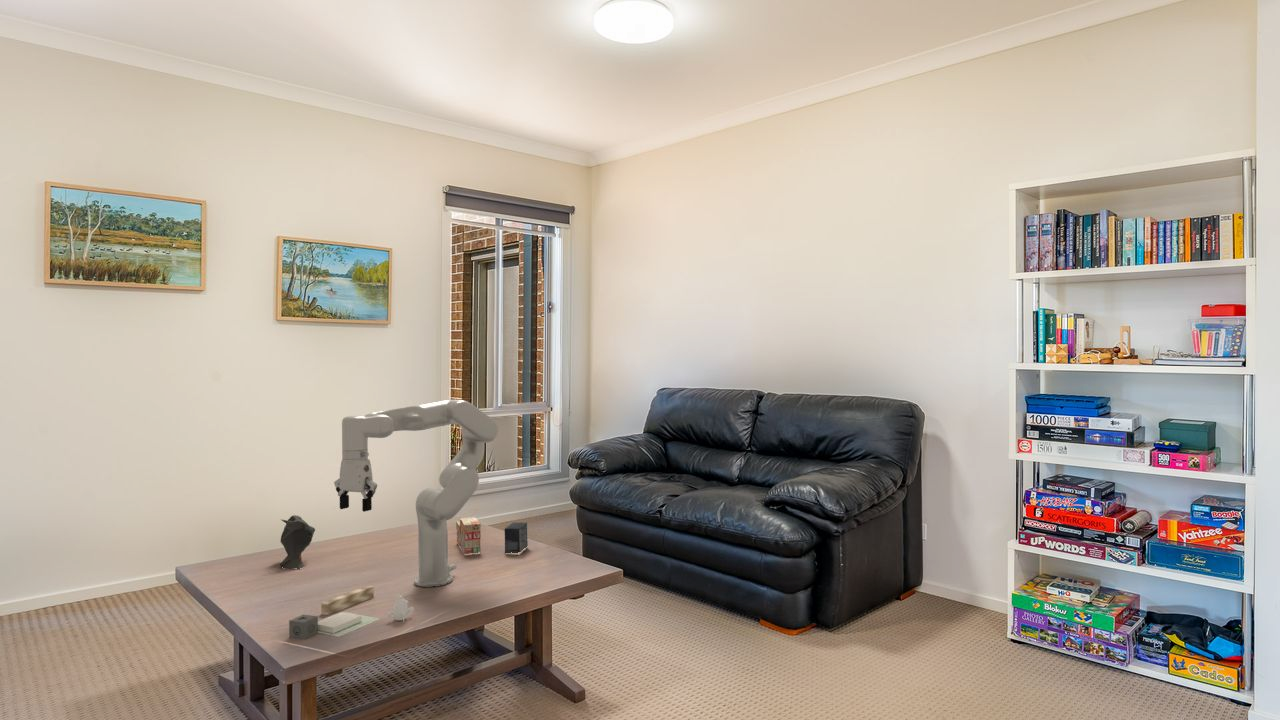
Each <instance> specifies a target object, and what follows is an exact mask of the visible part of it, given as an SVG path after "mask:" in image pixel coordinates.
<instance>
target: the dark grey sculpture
mask: <svg viewBox="0 0 1280 720" xmlns="http://www.w3.org/2000/svg"><path fill="white" fill-rule="evenodd" d="M280 520H281V521H282V522H283V523H285V525H284V528H283V531H282V533H281V537H280V544H281V545H282V546H283V547H284V550H285V552H286V554H287V555H286V557H285V558H284V559H283V560H282V561H281V563H279V568H282V567H283V568H297V569H296V570H300V568H303V567H305V568H306V566H305V565H304V564H303V563H302V561H303V560H302V553H303V552H304V551H305V550H306V548H307V547H309V546H310V545H311V542H312V541H313V537H314V533H315V532H316V529H315V527H313V526H311V525H309V523H307V522H306V521H305V520H304V519H303V518H302V517H301V516H300V515H295V514H294V515H291V516H290V517H289V518H288V519H287V520H286V519H280ZM303 569H304V568H303Z"/></svg>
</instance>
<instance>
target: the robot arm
mask: <svg viewBox="0 0 1280 720" xmlns="http://www.w3.org/2000/svg"><path fill="white" fill-rule="evenodd" d="M451 425H459V426H460V427H461V429H460V430H461V436H462V444H461V447H460V449H459V450H458V452H457V453H456V455H455V456H454V457H453V458H452V459H451V460H450V462H449V463H448V464H447V465H446V466H445V467H444V469H443V470H442V471H441V473H440V474H439V477H438V482H439V485H440V486H441V487H442V488H443V489H439V488H437V487H436V488H434V487H430V488H425V489H423V490H422V491H421V492H419V494H418V495H417V497H416V500H415V511H416V512H415V513H416V517H417V527H418V528H417V529H418V530H417V531H418V534H417V535H418V536H417V537H418V576H417V577H415V578H414V580H413V583H414V585H415V586H417V587H421V588H422V587H424V588H432V587H433V586H435V587H440V585H441V586H444V584H445V585H448V584H450V583H451V582H453V575H452V574H451V572H452V571H454V570H456V569H457V565H456V564H455V563H453V564H448V563H449V561H448V560H449V557H448V556H449V554H448V550H449V548H448V545H449V544H448V543H449V542H448V535H449V534H448V522H447V521H449V520H451V519H453V518H454V517H455V516H456V515H457V514H458V513H459V512H460V511H461V510H462V508H463V507H464V506H465V505H466V504H467V502H468V501H469V500H470V498H471V497H472V496H473V495H474V493H475V492H476V490H477V489H478V486H479V480H480V477H479V473H478V471H477V469H478V467H479V465H480V464H481V462H482V460H483V458H484V456H485V444H488V443H490V442H491V443H492V442H493V441H495V440H496V439H497V437H498V435H499V426H498V424H497V422H496V421H495V420H494V419H493V418H492V417H491V416H489V415H488V414H486V413H485V412H483V411H482V410H481V409H480V408H478V407H477V406H475V405H474V404H472V403H471V402H469V401H467V400H463V399H447V400H440V401H435V402H429V403H425V404H424V403H423V404H418V405H411V406H405V407H402V408H393V409H387V410H382V411H381V410H380V411H376V412H375V411H374V412H370V413H368V414H365V415H364V416H363V415H349V416H345V417H343V418H342V420H341V441H342V442H341V452H342V453H341V454H342V455H341V458H342V460H341V461H340V467H339V478H338V479H336V480H335V481H334V482H333V483H334V486H335V490H336V492H337V495H338V497H339V509H340V510H344V509H348V508H350V495H349V492H350V493H351V492H352V493H361V495H362V497H363V498H362V500H361V501H362V502H361V503H362V506H361V507H362V510H361V511H362V512H369V511H371V510H372V509H373V507H372V505H373V504H372V500H373V498H374V495H375V493H376V490H377V488H378V484H377V483H376V482H374V481H373V480H374V479H373V470H372V464H371V460H370V459H369V458H368V457H369V455H370V453H369V451H368V450H369V449H368V448H369V446H368V443H369V441H368V440H369V438H373V439H374V438H375V439H376V438H377V439H384V438H388V437H390V436H392V434H393V433H394V432H399V431H408V432H409V431H412V432H417V431H425V430H429V429H435V428H439V427H444V426H451ZM447 583H448V584H447Z"/></svg>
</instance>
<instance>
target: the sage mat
mask: <svg viewBox="0 0 1280 720" xmlns="http://www.w3.org/2000/svg"><path fill="white" fill-rule="evenodd" d="M343 612H344V613H349V614H354V615H358V614H357V613H351V612H347V611H343ZM359 615H360V616H362V621H361V622H359V623H356V624H354V625H352V626H349V627H347V628H345V629H342V630H340V631H338V632H335V633H330V632H326V631H321V630H318V633H319V634H323V635H327V636H332V637H337V638H339V637H342V636H344V635H347V634H349V633H351V632H353V631H356V630H358V629H360V628H362V627H365V626H367V625H369V624H372V623H374V622H377V621H379V620H380V618H377V617H373V616H372V617H371V616H367V615H363V614H362V615H361V614H359ZM318 633H317V634H318Z"/></svg>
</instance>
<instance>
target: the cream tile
mask: <svg viewBox="0 0 1280 720" xmlns="http://www.w3.org/2000/svg"><path fill="white" fill-rule="evenodd" d="M344 612H345V611H343V612H342V611H340V612H337V613H335V614H333V615H331V616H329V617H326V618H323V619H320V620H318V630H321V631H326V632H330V633H335V632H338V631H340V630H342V629H345V628H347V627H349V626H352V625H354V624H356V623H359V622H361V621H362V616H360V615H361V614H357V615H354V614H355V613H352V614H349V613H350V612H347V613H344Z"/></svg>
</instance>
